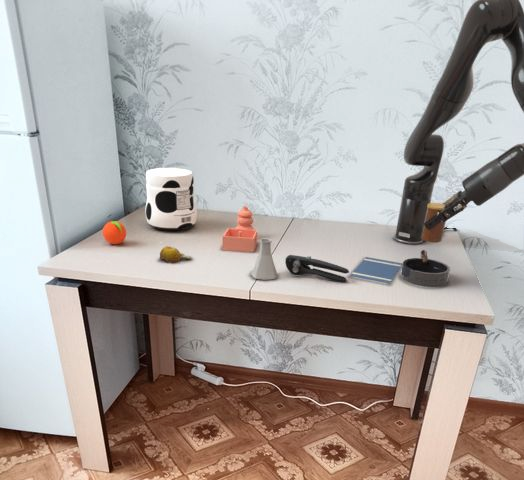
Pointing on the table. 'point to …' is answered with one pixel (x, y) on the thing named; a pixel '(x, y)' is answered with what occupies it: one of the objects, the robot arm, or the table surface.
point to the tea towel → (376, 270)
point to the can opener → (300, 267)
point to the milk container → (170, 198)
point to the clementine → (114, 232)
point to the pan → (425, 272)
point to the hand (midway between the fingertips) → (427, 223)
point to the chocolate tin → (436, 231)
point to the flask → (264, 262)
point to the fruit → (171, 254)
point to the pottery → (241, 233)
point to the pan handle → (424, 255)
